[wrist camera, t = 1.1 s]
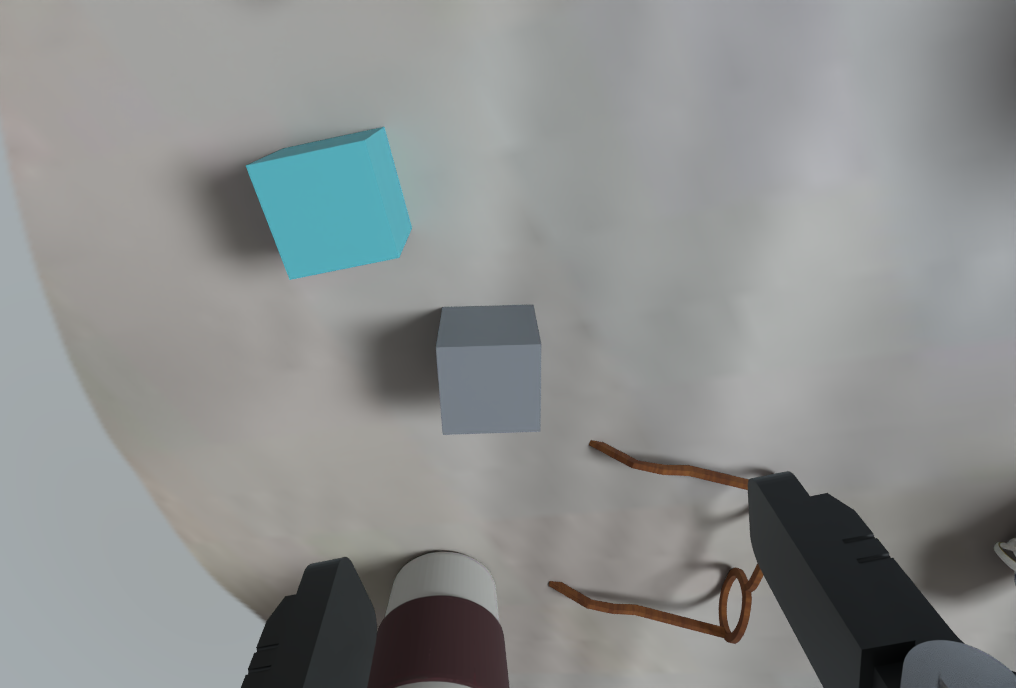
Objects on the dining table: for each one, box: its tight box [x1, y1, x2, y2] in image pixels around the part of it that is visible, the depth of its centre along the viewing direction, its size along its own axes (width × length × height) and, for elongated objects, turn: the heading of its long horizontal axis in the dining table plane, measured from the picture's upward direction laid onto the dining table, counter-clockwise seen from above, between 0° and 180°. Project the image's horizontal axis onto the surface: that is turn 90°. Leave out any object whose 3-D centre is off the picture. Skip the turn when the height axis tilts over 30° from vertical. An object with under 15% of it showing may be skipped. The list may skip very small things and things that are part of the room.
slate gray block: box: [436, 305, 541, 435], centre depth 31 cm, size 5×5×5 cm
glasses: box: [549, 440, 763, 644], centre depth 38 cm, size 13×13×5 cm
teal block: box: [246, 127, 412, 280], centre depth 27 cm, size 5×5×5 cm
